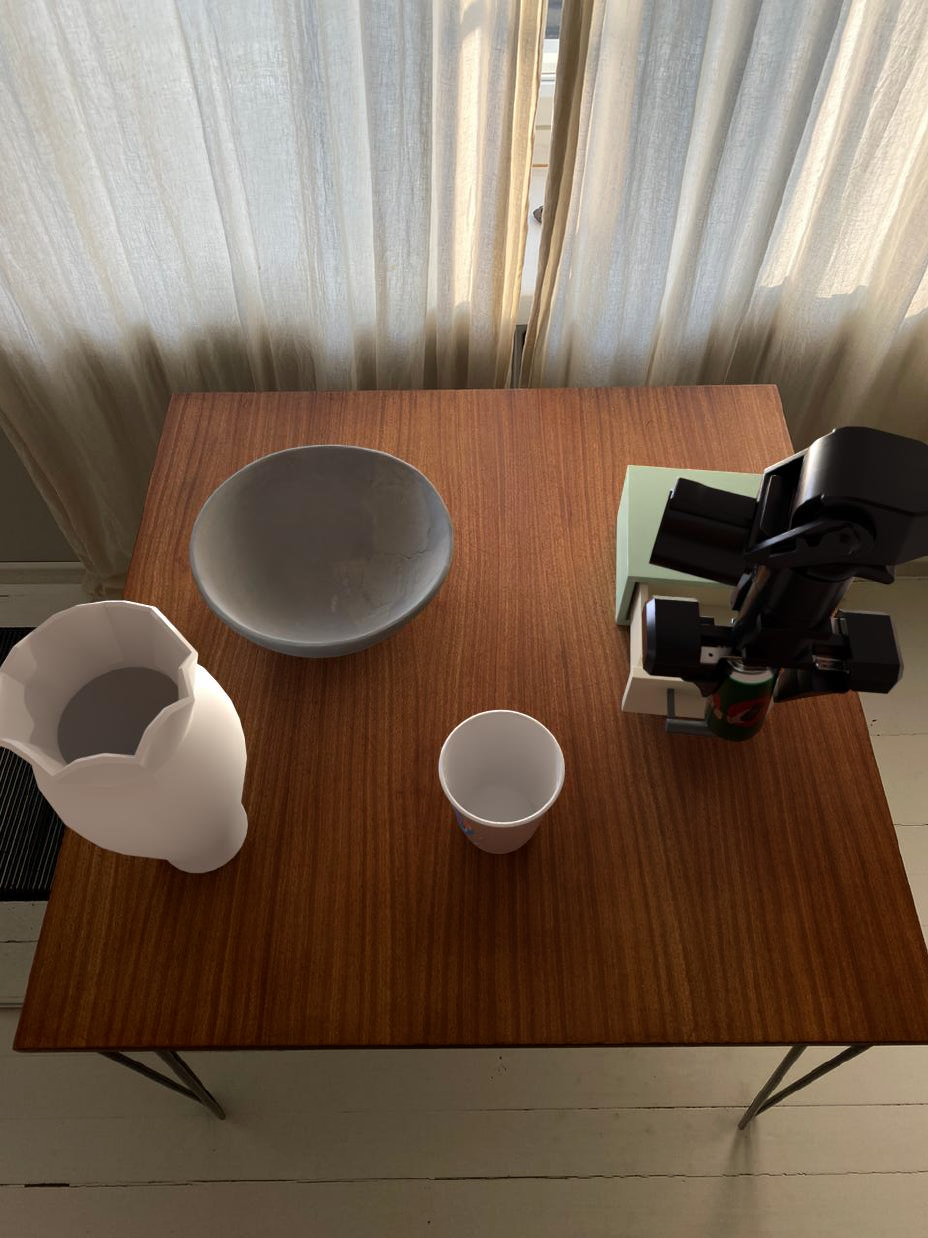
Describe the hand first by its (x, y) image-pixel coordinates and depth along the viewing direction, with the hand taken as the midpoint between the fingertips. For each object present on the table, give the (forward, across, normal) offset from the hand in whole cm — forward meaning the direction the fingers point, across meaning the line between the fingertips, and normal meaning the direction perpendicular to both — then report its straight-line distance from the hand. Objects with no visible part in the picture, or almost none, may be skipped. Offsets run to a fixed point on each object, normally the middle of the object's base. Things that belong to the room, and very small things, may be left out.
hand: (739, 695), depth 73 cm
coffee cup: (+13, +20, +8) cm, 25 cm away
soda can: (+5, -1, 0) cm, 5 cm away
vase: (+13, +46, +11) cm, 50 cm away
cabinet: (+13, +1, -22) cm, 26 cm away
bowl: (+13, +39, -16) cm, 45 cm away
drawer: (+12, +1, -8) cm, 15 cm away
